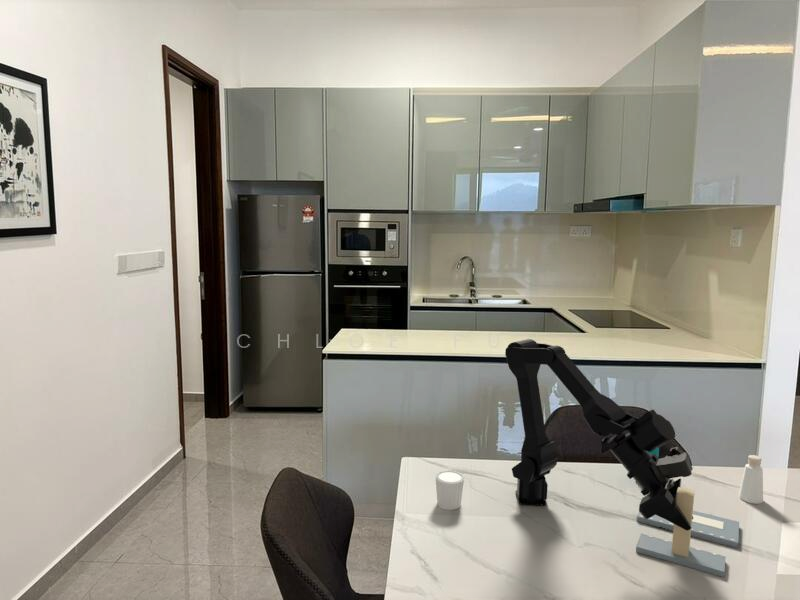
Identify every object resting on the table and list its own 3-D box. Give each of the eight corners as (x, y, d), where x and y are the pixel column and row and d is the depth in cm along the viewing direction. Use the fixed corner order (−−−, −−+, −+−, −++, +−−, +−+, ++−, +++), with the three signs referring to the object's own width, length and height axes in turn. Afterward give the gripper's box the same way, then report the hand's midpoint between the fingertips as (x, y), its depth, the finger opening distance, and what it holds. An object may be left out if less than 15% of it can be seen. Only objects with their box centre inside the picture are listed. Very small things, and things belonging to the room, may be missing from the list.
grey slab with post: (635, 551, 119) (640, 487, 117) (640, 537, 124) (645, 476, 122) (723, 577, 111) (730, 508, 109) (725, 561, 116) (731, 495, 114)
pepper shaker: (741, 491, 147) (745, 450, 145) (766, 499, 143) (770, 457, 141) (735, 498, 143) (739, 456, 141) (760, 506, 139) (764, 463, 137)
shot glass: (431, 507, 136) (431, 479, 135) (440, 494, 143) (440, 468, 142) (458, 513, 134) (459, 485, 133) (466, 500, 140) (467, 473, 139)
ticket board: (636, 521, 131) (637, 515, 131) (643, 503, 140) (644, 498, 140) (737, 548, 121) (738, 542, 121) (738, 526, 130) (739, 521, 129)
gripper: (662, 455, 108) (723, 527, 104) (673, 425, 124) (727, 486, 120) (615, 484, 114) (672, 553, 109) (632, 452, 129) (682, 511, 125)
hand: (690, 524), depth 116 cm, fingers open, 4 cm apart
